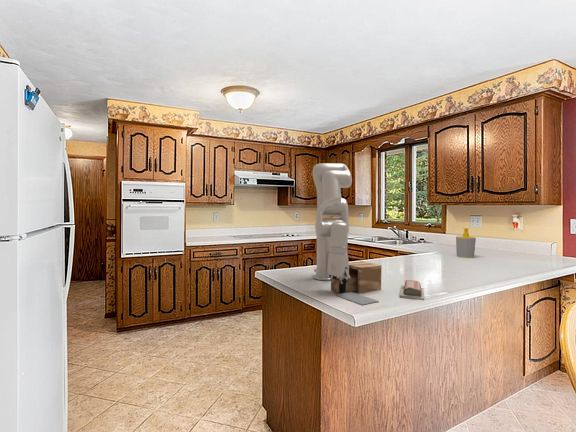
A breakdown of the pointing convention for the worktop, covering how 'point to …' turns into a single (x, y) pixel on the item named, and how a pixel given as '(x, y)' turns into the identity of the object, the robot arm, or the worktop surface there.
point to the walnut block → (350, 285)
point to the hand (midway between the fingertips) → (338, 290)
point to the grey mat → (357, 298)
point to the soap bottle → (465, 245)
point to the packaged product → (412, 290)
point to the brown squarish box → (366, 275)
